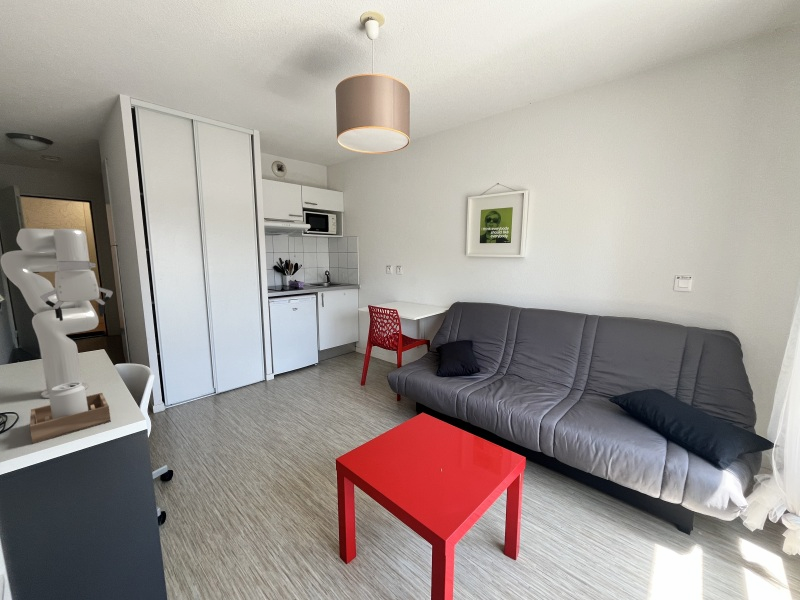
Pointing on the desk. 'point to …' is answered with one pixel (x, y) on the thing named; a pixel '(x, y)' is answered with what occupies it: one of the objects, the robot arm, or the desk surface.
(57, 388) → the can
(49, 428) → the walnut box
